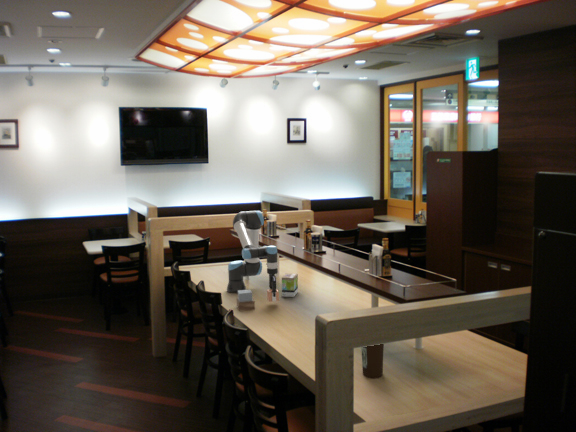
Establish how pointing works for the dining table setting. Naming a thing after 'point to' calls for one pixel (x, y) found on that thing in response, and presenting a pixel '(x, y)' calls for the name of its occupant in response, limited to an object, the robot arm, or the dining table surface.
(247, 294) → the slate block
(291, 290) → the tea box
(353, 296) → the dining table surface
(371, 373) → the brown coffee cup
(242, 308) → the walnut block
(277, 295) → the terracotta cube
